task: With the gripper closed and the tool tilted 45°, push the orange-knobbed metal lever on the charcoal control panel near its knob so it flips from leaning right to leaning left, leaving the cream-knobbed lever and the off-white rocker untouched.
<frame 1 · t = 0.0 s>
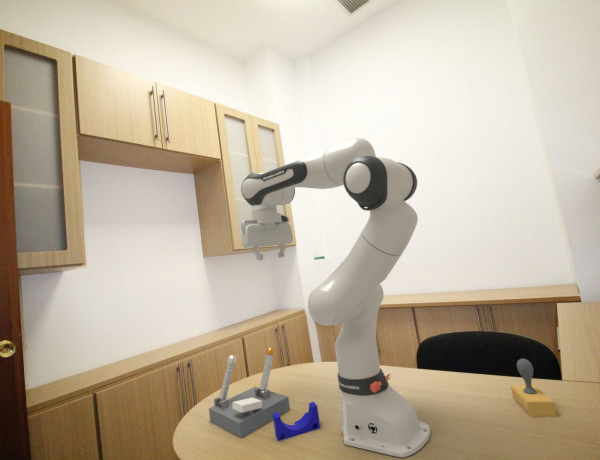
hand: (271, 258, 110), 48 cm above the table, tool pointing down, fingers open, 8 cm apart
panel: (250, 415, 100), on the table
rocker: (247, 404, 93), point 6 cm above the table, hinge at 12.0°
cable clip: (297, 432, 86), on the table
rubber stamp: (533, 407, 81), on the table
lever orange: (266, 370, 105), point 11 cm above the table, hinge at -25.0°
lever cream: (227, 379, 103), point 11 cm above the table, hinge at -25.0°
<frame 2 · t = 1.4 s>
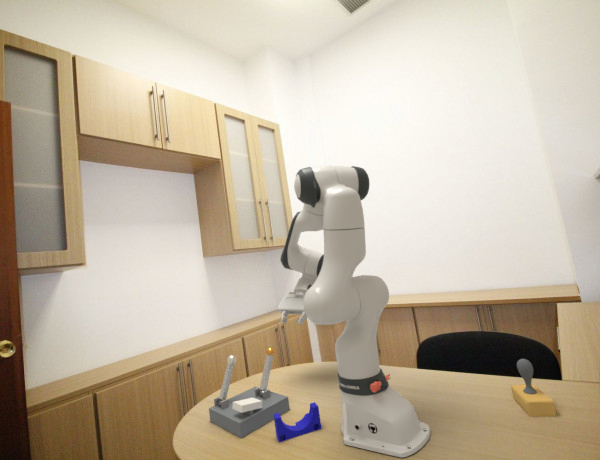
hand: (290, 323, 116), 24 cm above the table, tool tilted 45°, fingers open, 7 cm apart
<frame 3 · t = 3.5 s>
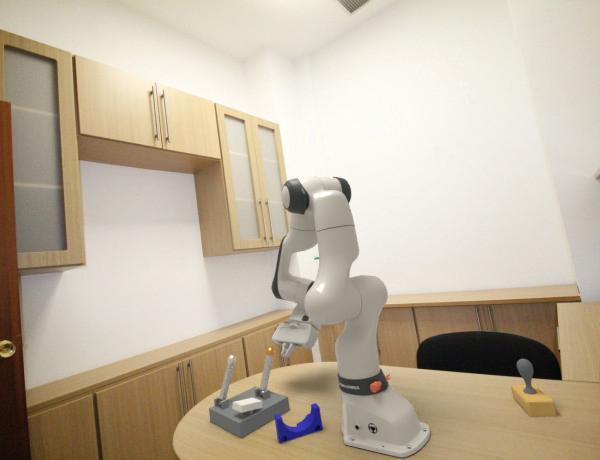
hand: (284, 356, 111), 13 cm above the table, tool tilted 45°, fingers closed
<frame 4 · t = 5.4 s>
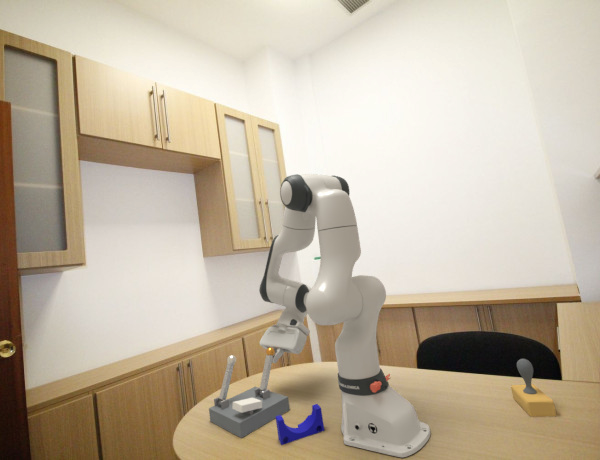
hand: (271, 362, 107), 13 cm above the table, tool tilted 45°, fingers closed, pressing on lever orange
lever orange: (266, 370, 105), point 11 cm above the table, hinge at -24.9°, touching gripper
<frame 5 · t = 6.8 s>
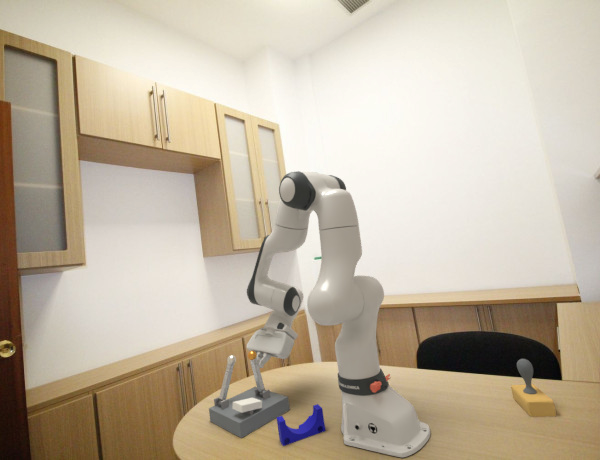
hand: (257, 366, 104), 13 cm above the table, tool tilted 45°, fingers closed, pressing on lever orange
lever orange: (257, 373, 103), point 12 cm above the table, hinge at 8.9°, touching gripper
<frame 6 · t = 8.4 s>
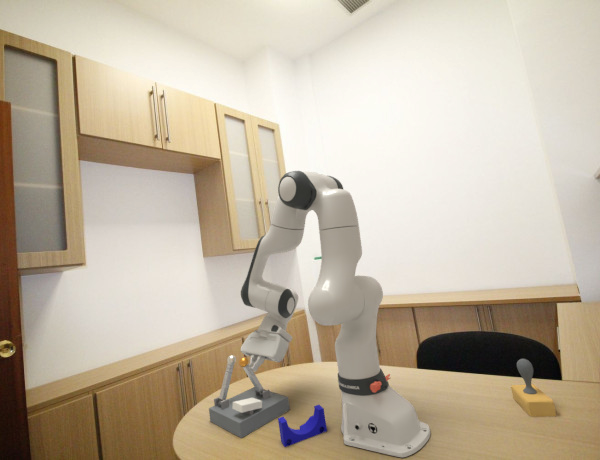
hand: (251, 370, 102), 13 cm above the table, tool tilted 45°, fingers closed, pressing on lever orange
lever orange: (252, 377, 101), point 11 cm above the table, hinge at 24.9°, touching gripper
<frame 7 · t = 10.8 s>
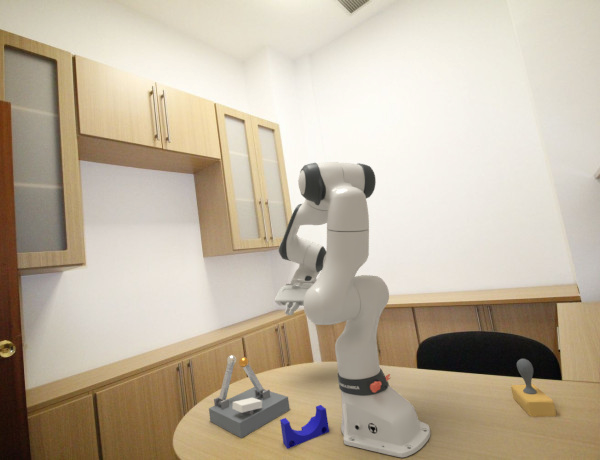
hand: (288, 314, 116), 27 cm above the table, tool tilted 45°, fingers closed
lever orange: (252, 377, 101), point 11 cm above the table, hinge at 24.9°
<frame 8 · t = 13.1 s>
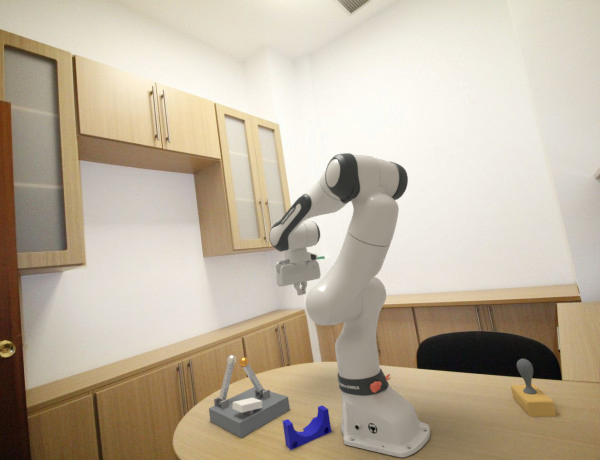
hand: (301, 294, 119), 33 cm above the table, tool pointing down, fingers closed
at the end: lever orange at +25° (first picture: -25°); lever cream at -25° (first picture: -25°); rocker at +12° (first picture: +12°) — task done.
